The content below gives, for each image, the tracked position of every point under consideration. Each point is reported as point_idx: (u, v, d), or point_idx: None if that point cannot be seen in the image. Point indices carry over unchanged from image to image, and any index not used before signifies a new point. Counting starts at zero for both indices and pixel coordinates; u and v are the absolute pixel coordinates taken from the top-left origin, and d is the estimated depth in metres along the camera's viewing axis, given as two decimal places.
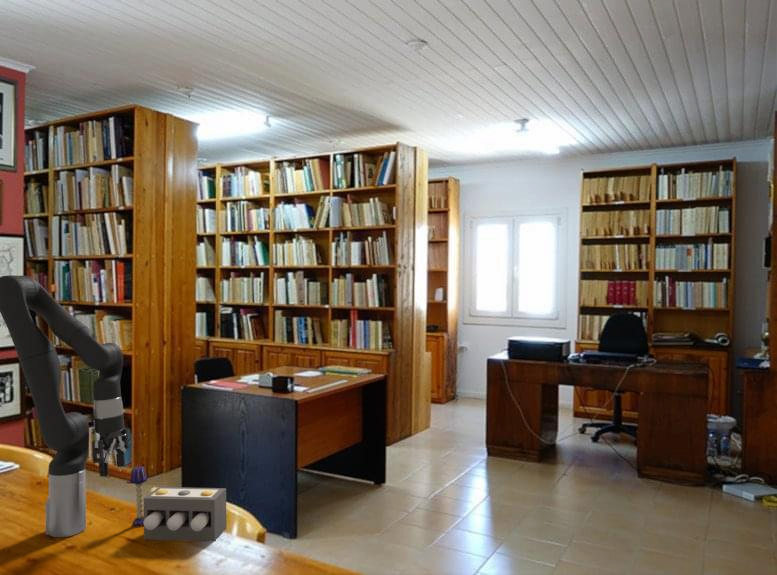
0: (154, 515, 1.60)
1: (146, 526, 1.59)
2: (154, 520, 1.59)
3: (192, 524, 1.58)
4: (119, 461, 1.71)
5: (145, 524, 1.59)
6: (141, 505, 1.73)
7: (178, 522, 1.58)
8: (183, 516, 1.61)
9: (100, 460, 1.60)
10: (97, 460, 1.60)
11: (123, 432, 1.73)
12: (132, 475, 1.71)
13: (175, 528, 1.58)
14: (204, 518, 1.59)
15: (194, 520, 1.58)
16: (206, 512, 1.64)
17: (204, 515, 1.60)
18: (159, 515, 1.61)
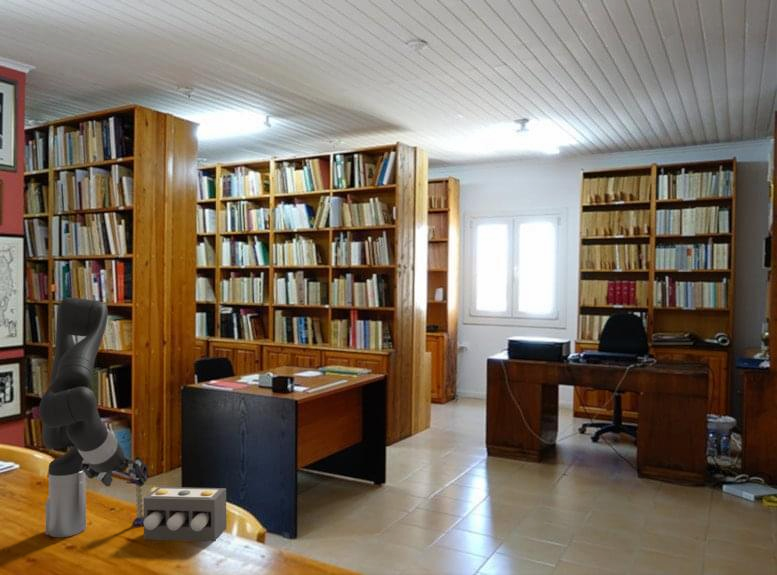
0: (154, 515, 1.60)
1: (146, 526, 1.59)
2: (154, 520, 1.59)
3: (192, 524, 1.58)
4: None
5: (145, 524, 1.59)
6: (141, 505, 1.73)
7: (178, 522, 1.58)
8: (183, 516, 1.61)
9: None
10: None
11: None
12: None
13: (175, 528, 1.58)
14: (204, 518, 1.59)
15: (194, 520, 1.58)
16: (206, 512, 1.64)
17: (204, 515, 1.60)
18: (159, 515, 1.61)
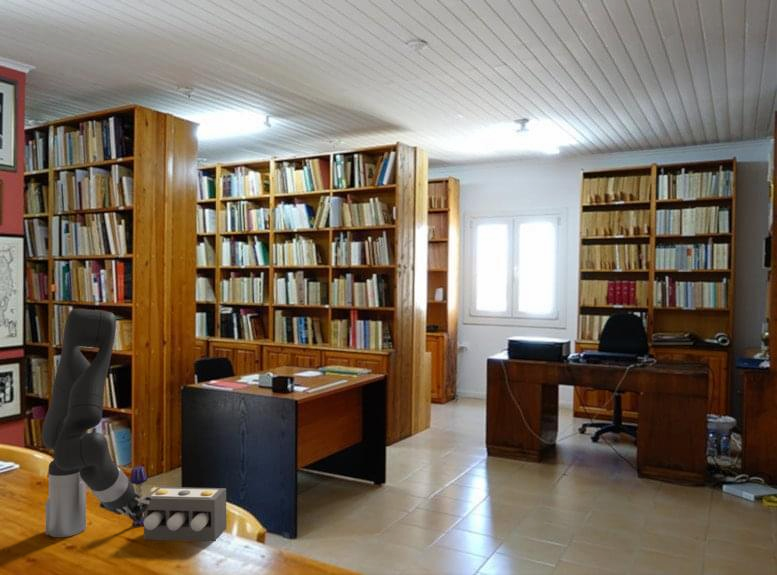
0: (154, 515, 1.60)
1: (146, 526, 1.59)
2: (154, 520, 1.59)
3: (192, 524, 1.58)
4: None
5: (145, 524, 1.59)
6: None
7: (178, 522, 1.58)
8: (183, 516, 1.61)
9: None
10: None
11: (143, 505, 1.45)
12: (132, 475, 1.71)
13: (175, 528, 1.58)
14: (204, 518, 1.59)
15: (194, 520, 1.58)
16: (206, 512, 1.64)
17: (204, 515, 1.60)
18: (159, 515, 1.61)
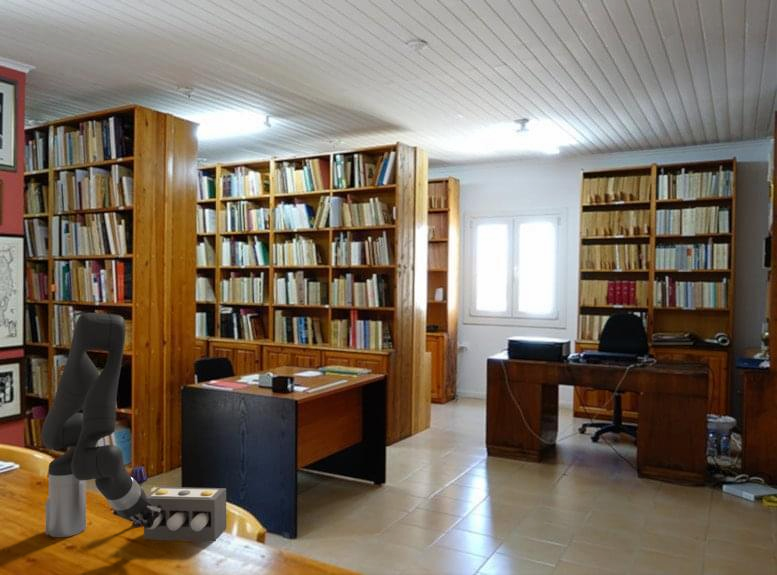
0: None
1: None
2: None
3: (192, 524, 1.58)
4: None
5: None
6: None
7: (178, 522, 1.58)
8: (183, 516, 1.61)
9: None
10: None
11: (154, 512, 1.51)
12: (132, 475, 1.71)
13: (175, 528, 1.58)
14: (204, 518, 1.59)
15: (194, 520, 1.58)
16: (206, 512, 1.64)
17: (204, 515, 1.60)
18: (160, 514, 1.62)
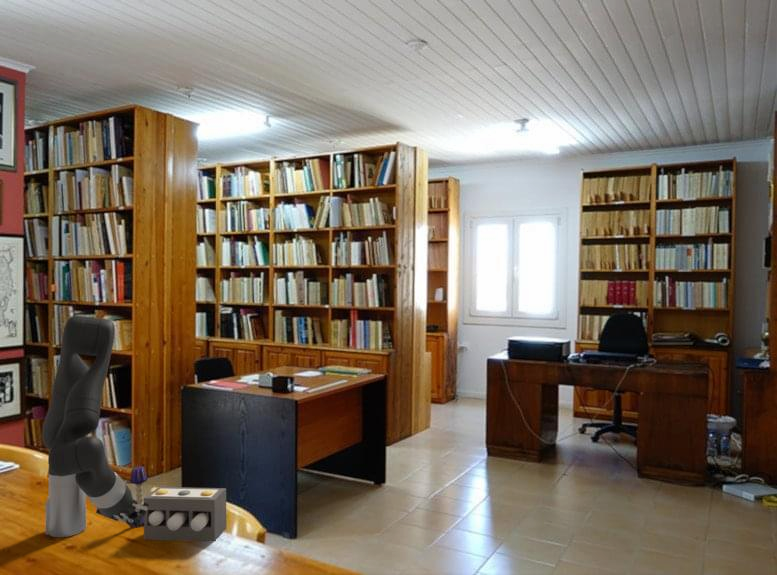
0: (159, 511, 1.63)
1: (151, 522, 1.62)
2: (159, 515, 1.61)
3: (192, 524, 1.58)
4: None
5: (150, 520, 1.62)
6: None
7: (178, 522, 1.58)
8: (183, 516, 1.61)
9: None
10: None
11: (140, 511, 1.41)
12: (132, 475, 1.71)
13: (175, 528, 1.58)
14: (204, 518, 1.59)
15: (194, 520, 1.58)
16: (206, 512, 1.64)
17: (204, 515, 1.60)
18: (164, 511, 1.64)
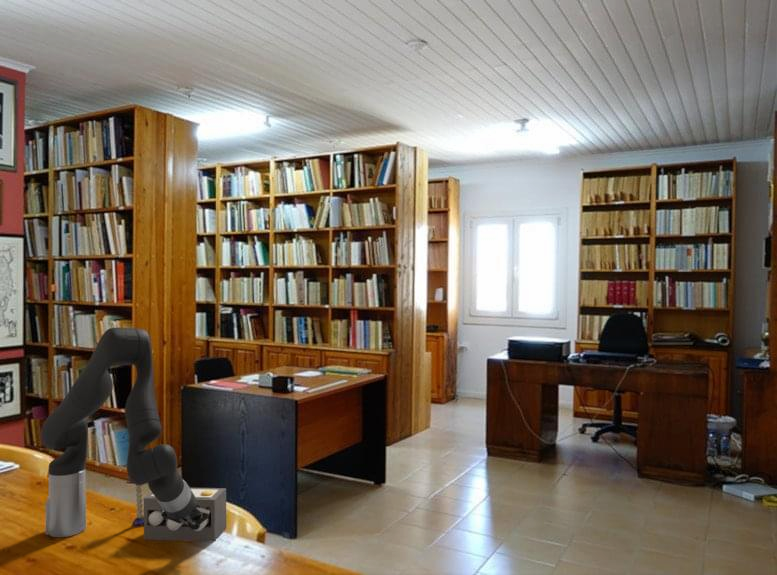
0: (159, 511, 1.63)
1: (151, 522, 1.62)
2: (159, 515, 1.61)
3: None
4: None
5: (150, 520, 1.62)
6: (141, 505, 1.73)
7: None
8: None
9: None
10: None
11: (203, 514, 1.50)
12: None
13: (175, 528, 1.58)
14: None
15: None
16: None
17: None
18: None
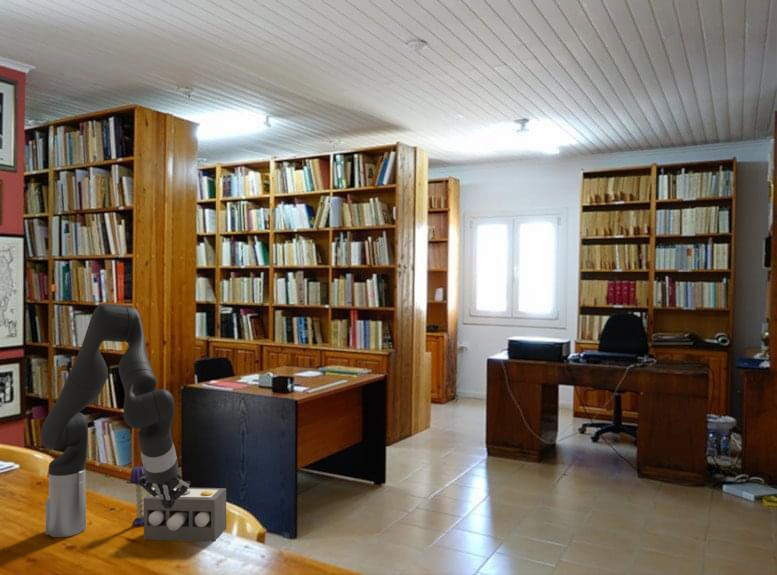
0: (159, 511, 1.63)
1: (151, 522, 1.62)
2: (159, 515, 1.61)
3: (196, 520, 1.61)
4: None
5: (150, 520, 1.62)
6: (141, 505, 1.73)
7: (178, 522, 1.58)
8: (183, 516, 1.61)
9: None
10: (154, 490, 1.47)
11: (182, 487, 1.44)
12: (132, 475, 1.71)
13: (175, 528, 1.58)
14: (208, 514, 1.62)
15: (198, 516, 1.61)
16: None
17: (208, 511, 1.63)
18: (164, 511, 1.64)
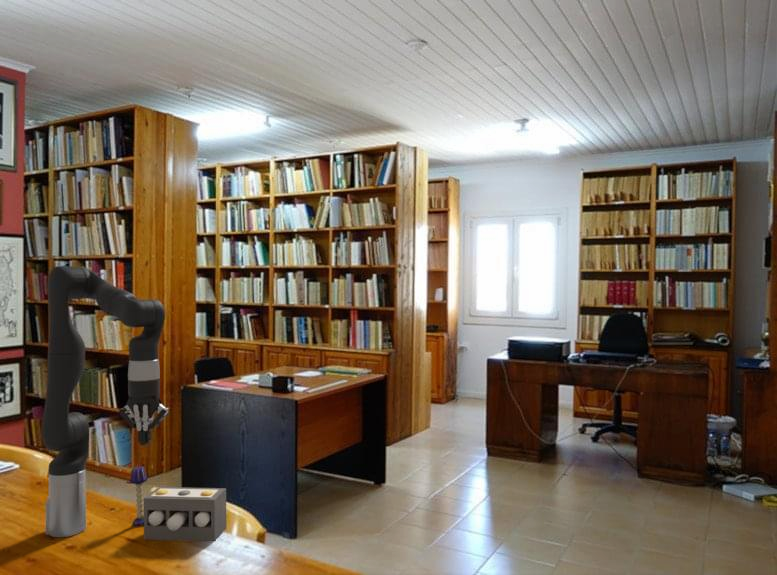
0: (159, 511, 1.63)
1: (151, 522, 1.62)
2: (159, 515, 1.61)
3: (196, 520, 1.61)
4: None
5: (150, 520, 1.62)
6: (141, 505, 1.73)
7: (178, 522, 1.58)
8: (183, 516, 1.61)
9: None
10: None
11: None
12: (132, 475, 1.71)
13: (175, 528, 1.58)
14: (208, 514, 1.62)
15: (198, 516, 1.61)
16: None
17: (208, 511, 1.63)
18: (164, 511, 1.64)
